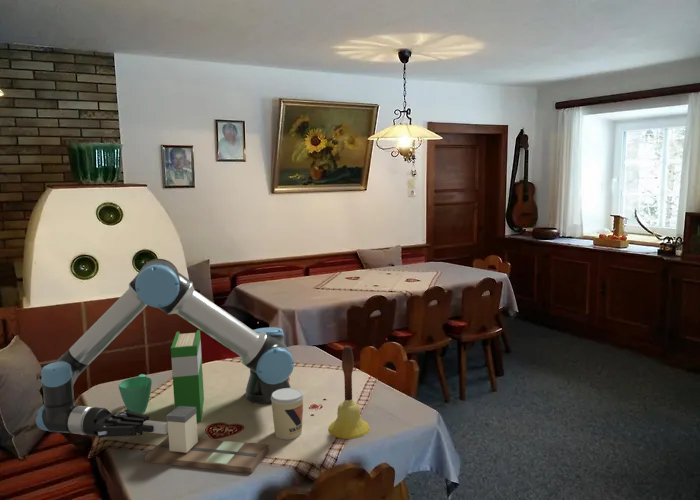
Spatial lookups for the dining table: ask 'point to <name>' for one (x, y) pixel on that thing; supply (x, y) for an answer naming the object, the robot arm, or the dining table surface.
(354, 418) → the handbell
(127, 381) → the mug
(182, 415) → the fader knob
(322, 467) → the dining table surface
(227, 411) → the dining table surface
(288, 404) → the coffee cup
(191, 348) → the hardback book
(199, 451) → the fader track
